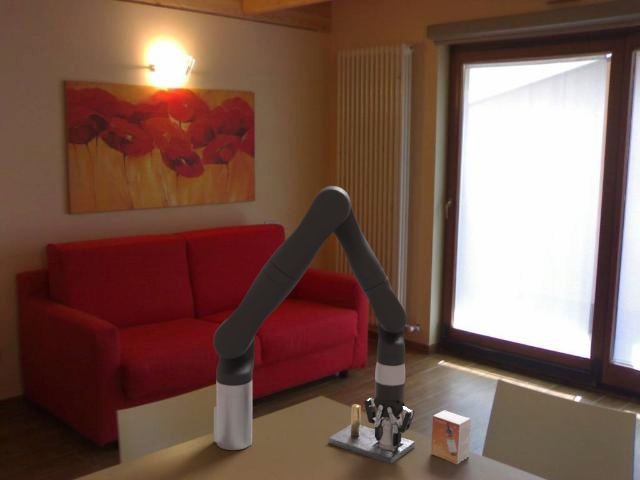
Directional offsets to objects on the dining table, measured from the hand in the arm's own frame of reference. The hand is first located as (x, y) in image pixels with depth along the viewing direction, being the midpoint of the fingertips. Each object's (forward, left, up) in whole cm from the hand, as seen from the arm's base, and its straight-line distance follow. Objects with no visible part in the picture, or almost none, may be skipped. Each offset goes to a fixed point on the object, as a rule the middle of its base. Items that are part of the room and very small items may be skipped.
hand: (387, 442), depth 177 cm
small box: (+14, +7, -2) cm, 16 cm away
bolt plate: (-5, 0, -2) cm, 5 cm away
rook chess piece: (0, 0, -2) cm, 2 cm away
